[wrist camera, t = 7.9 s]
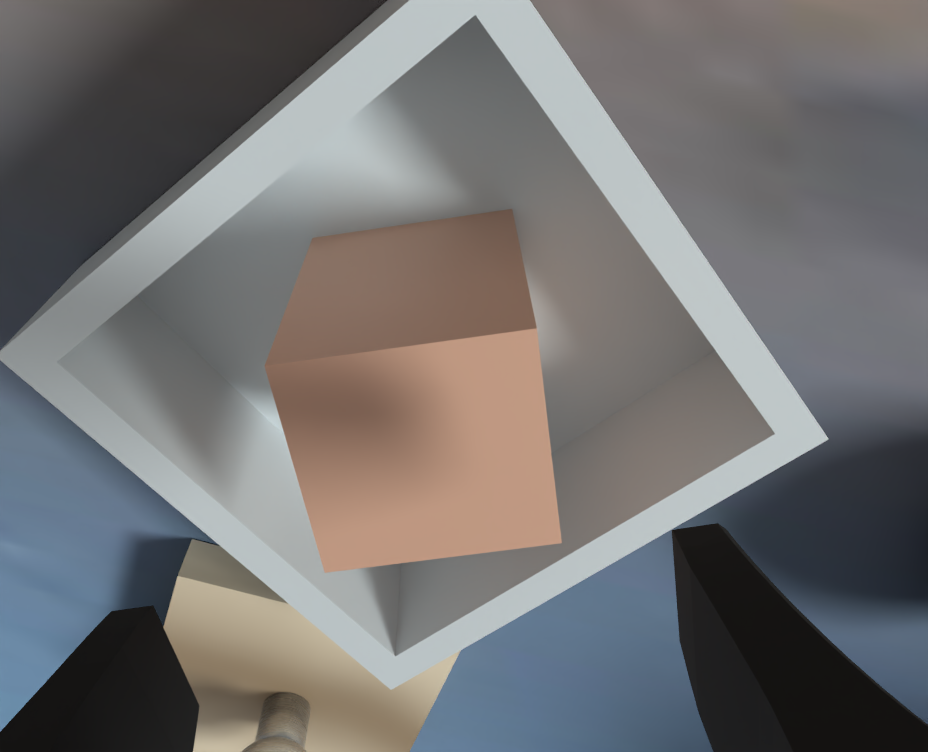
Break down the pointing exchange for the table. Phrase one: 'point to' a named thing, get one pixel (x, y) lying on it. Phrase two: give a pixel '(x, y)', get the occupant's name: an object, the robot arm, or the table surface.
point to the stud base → (280, 670)
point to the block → (416, 394)
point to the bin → (398, 203)
